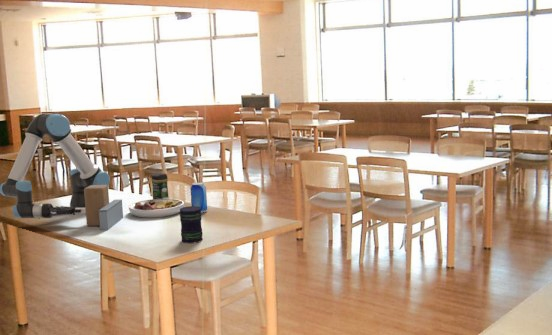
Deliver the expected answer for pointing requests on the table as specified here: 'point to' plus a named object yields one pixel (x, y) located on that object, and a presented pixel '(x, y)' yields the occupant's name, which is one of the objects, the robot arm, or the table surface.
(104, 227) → the beam
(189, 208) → the storage jar
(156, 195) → the coffee jar
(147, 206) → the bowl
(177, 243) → the table surface
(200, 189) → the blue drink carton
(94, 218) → the wooden block
